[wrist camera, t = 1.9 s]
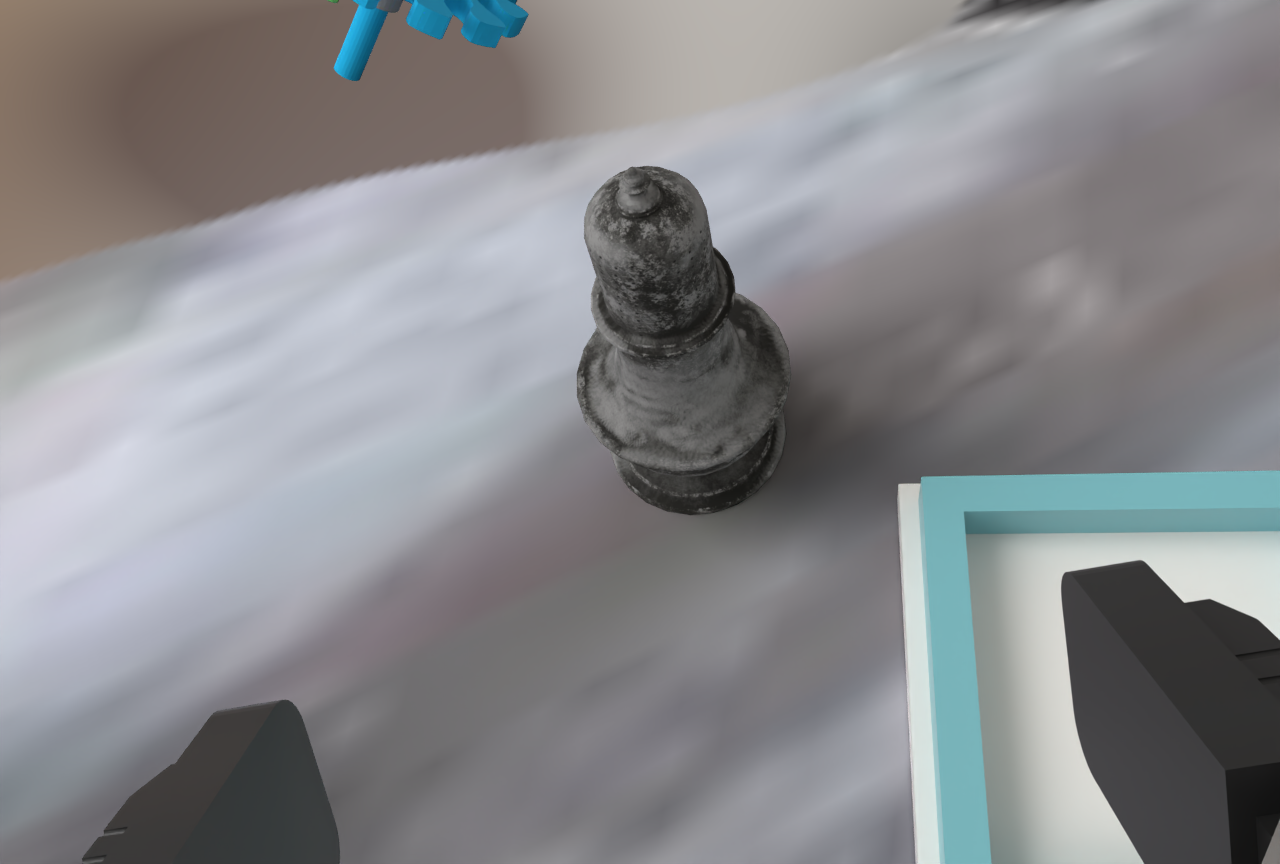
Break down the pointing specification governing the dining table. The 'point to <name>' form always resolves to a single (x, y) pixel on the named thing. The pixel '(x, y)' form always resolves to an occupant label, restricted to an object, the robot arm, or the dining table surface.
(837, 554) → the dining table surface
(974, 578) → the socket board
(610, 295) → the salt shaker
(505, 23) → the gear
